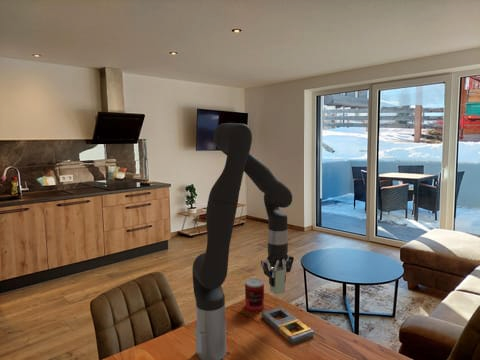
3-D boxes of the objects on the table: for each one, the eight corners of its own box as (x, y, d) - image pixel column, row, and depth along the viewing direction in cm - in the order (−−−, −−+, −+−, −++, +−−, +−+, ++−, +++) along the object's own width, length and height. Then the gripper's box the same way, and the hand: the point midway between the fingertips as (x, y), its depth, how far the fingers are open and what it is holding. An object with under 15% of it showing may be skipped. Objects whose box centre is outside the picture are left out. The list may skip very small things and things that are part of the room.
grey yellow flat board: (292, 344, 115) (292, 338, 115) (261, 317, 133) (261, 311, 133) (313, 336, 119) (313, 330, 119) (281, 311, 137) (280, 305, 137)
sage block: (275, 294, 126) (276, 271, 125) (270, 290, 130) (270, 267, 129) (284, 292, 128) (285, 269, 127) (278, 288, 132) (278, 265, 131)
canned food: (255, 300, 146) (254, 276, 145) (268, 307, 140) (267, 282, 138) (241, 306, 141) (240, 281, 140) (254, 314, 135) (253, 287, 134)
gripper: (266, 246, 120) (266, 292, 122) (299, 240, 127) (298, 284, 129) (256, 240, 127) (256, 284, 129) (287, 235, 133) (287, 277, 135)
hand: (277, 284), depth 129 cm, fingers closed on sage block, 4 cm apart
